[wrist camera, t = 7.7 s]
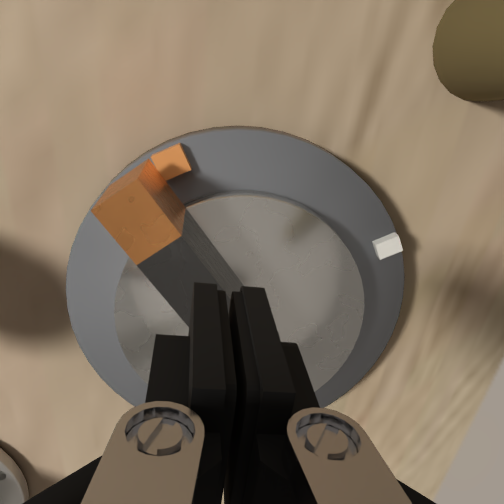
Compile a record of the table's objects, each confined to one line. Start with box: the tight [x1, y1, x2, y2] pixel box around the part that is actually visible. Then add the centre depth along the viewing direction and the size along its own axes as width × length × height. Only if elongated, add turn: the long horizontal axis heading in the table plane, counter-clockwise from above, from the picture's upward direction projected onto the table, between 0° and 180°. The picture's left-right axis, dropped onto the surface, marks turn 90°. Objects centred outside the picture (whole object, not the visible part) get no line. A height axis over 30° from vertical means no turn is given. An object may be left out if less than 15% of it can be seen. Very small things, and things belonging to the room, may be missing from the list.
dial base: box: [66, 126, 404, 408], centre depth 29 cm, size 20×20×3 cm
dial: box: [91, 158, 364, 392], centre depth 25 cm, size 17×14×6 cm
